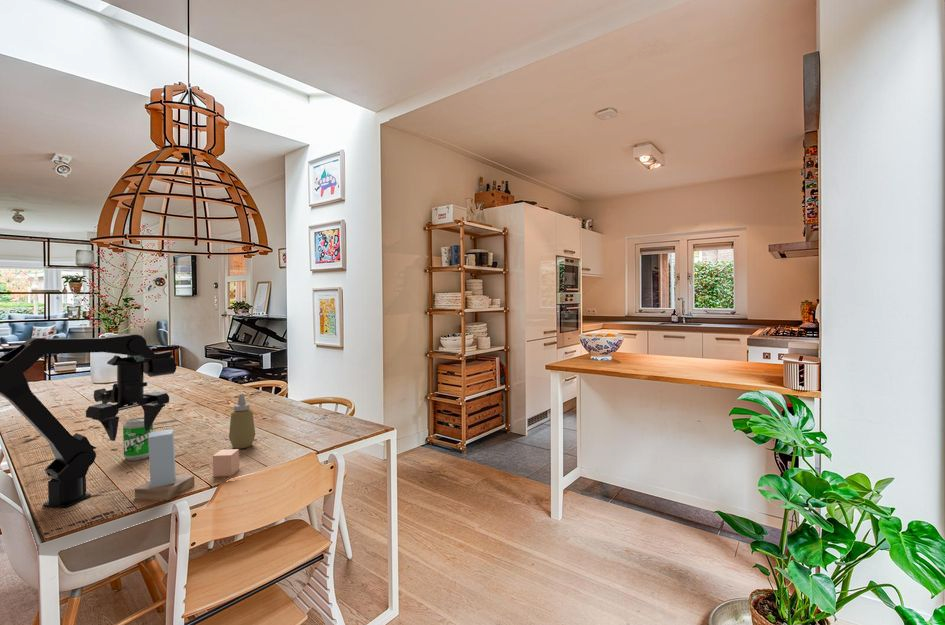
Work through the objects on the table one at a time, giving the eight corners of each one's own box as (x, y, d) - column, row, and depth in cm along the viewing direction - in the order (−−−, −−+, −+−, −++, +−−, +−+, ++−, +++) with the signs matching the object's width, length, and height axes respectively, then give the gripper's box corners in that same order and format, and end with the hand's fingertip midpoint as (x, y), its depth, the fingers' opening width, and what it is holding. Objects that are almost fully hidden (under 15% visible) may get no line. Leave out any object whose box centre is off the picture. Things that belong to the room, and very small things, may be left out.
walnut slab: (167, 502, 108) (167, 490, 108) (134, 500, 109) (134, 488, 109) (194, 486, 117) (194, 475, 117) (163, 485, 118) (163, 474, 118)
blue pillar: (150, 488, 109) (148, 437, 109) (152, 481, 113) (150, 432, 113) (174, 483, 112) (172, 433, 111) (175, 476, 116) (173, 428, 115)
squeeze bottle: (231, 444, 150) (230, 392, 150) (256, 441, 153) (256, 390, 153) (227, 451, 143) (226, 397, 142) (254, 448, 146) (253, 395, 145)
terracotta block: (231, 475, 123) (231, 455, 123) (213, 476, 123) (212, 455, 122) (239, 469, 128) (238, 449, 128) (221, 469, 127) (221, 449, 127)
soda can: (122, 457, 138) (121, 419, 138) (151, 451, 143) (150, 415, 143) (125, 463, 133) (124, 424, 132) (155, 457, 138) (154, 419, 137)
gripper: (141, 371, 130) (141, 422, 130) (69, 383, 112) (70, 442, 112) (170, 374, 127) (170, 426, 128) (102, 387, 109) (102, 448, 110)
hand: (130, 435), depth 119 cm, fingers open, 9 cm apart
